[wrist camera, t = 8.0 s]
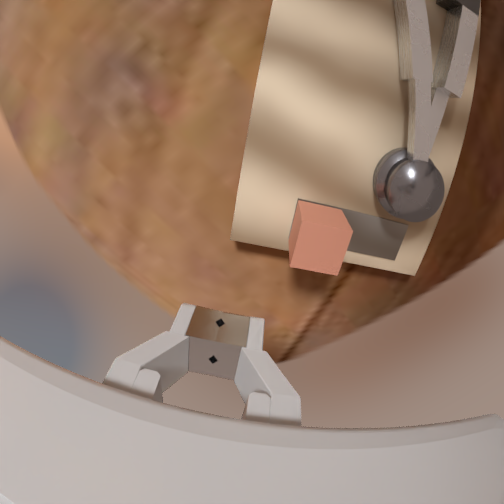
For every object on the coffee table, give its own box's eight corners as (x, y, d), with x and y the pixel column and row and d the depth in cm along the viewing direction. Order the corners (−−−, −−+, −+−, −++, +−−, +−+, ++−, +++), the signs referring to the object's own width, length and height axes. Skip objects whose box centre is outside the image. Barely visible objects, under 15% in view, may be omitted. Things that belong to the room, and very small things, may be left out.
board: (292, -77, 10) (292, -88, 9) (470, -11, 10) (480, -15, 9) (233, 230, 23) (230, 240, 21) (408, 265, 23) (415, 276, 21)
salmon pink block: (298, 200, 19) (302, 220, 16) (341, 209, 19) (353, 231, 16) (288, 240, 20) (289, 266, 17) (329, 248, 21) (337, 275, 17)
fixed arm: (416, 222, 19) (429, 236, 17) (362, 200, 19) (371, 212, 17) (481, 12, 10) (498, 7, 8) (431, -23, 10) (445, -32, 8)
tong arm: (425, 211, 19) (439, 223, 17) (376, 209, 19) (386, 221, 17) (421, -29, 10) (434, -38, 8) (368, -42, 10) (377, -54, 8)
